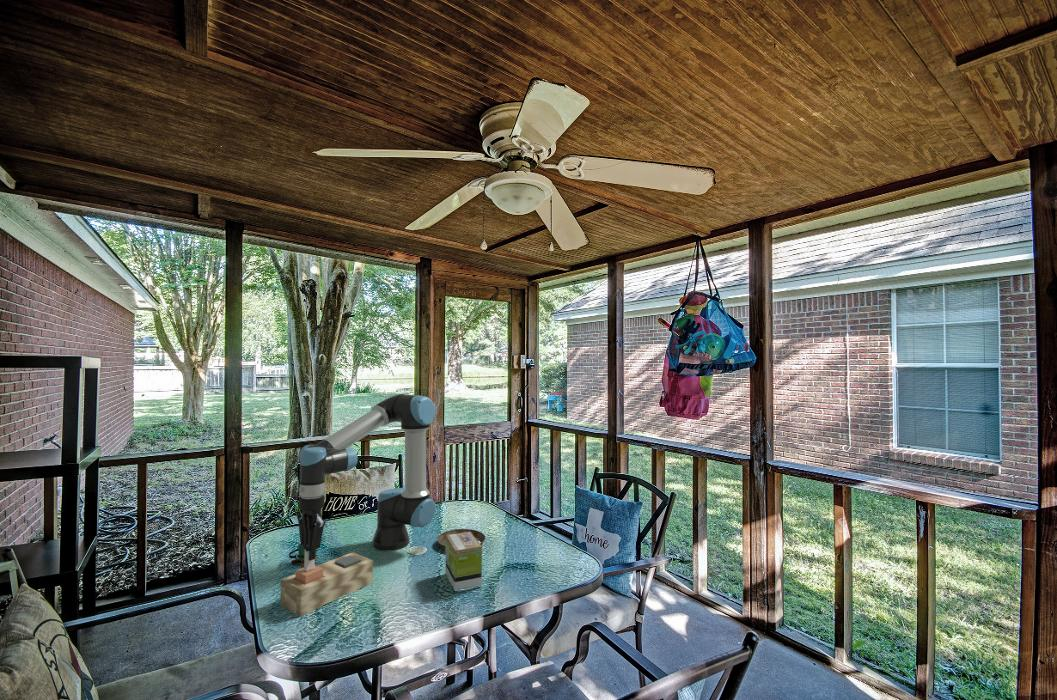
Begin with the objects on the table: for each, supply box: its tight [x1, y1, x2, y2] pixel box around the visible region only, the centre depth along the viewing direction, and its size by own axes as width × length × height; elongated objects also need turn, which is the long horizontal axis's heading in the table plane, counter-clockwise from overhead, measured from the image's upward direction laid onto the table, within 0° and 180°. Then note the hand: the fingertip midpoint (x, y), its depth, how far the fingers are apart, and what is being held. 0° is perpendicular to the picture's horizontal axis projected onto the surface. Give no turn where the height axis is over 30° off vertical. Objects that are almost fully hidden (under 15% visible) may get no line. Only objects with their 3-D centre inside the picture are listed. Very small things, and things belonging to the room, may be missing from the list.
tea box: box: [444, 532, 483, 591], centre depth 163 cm, size 15×10×15 cm
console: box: [279, 551, 374, 618], centre depth 152 cm, size 26×12×8 cm, turn 146°
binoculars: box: [288, 540, 318, 567], centre depth 176 cm, size 9×11×10 cm
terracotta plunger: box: [294, 564, 324, 585], centre depth 146 cm, size 6×6×8 cm
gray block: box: [335, 555, 361, 568], centre depth 158 cm, size 6×6×8 cm
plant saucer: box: [436, 528, 486, 550], centre depth 195 cm, size 21×21×3 cm
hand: (309, 569), depth 146 cm, fingers closed
